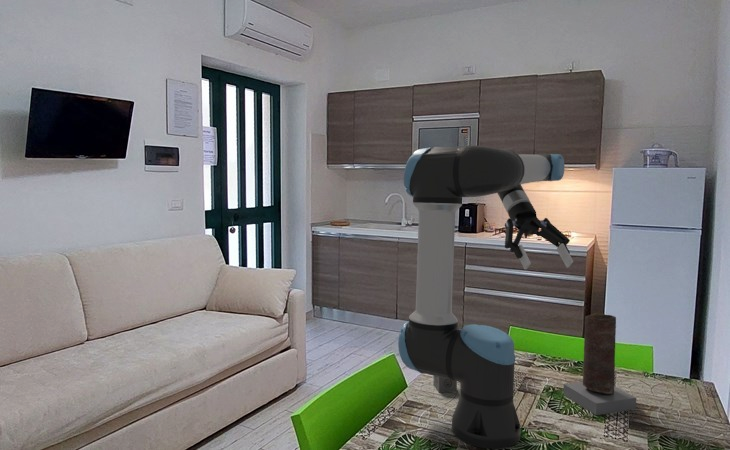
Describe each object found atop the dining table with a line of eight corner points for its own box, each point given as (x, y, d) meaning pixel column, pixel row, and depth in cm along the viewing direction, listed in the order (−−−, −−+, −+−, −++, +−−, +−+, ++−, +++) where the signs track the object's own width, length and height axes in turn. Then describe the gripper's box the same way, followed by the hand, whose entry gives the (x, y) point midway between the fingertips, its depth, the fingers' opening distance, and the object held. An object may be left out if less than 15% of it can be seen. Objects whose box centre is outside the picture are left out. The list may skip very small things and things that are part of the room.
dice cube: (456, 391, 132) (456, 373, 131) (438, 392, 131) (439, 374, 130) (450, 384, 136) (450, 366, 136) (433, 385, 136) (433, 368, 135)
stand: (595, 415, 118) (596, 403, 118) (563, 394, 129) (563, 384, 129) (635, 409, 121) (636, 397, 121) (600, 389, 133) (601, 379, 132)
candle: (595, 398, 120) (599, 319, 119) (575, 386, 127) (578, 312, 126) (620, 394, 122) (624, 317, 121) (599, 383, 130) (602, 310, 128)
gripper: (549, 216, 153) (580, 271, 140) (478, 217, 147) (503, 275, 133) (560, 200, 148) (594, 255, 135) (487, 200, 141) (515, 259, 128)
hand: (549, 265), depth 134 cm, fingers open, 13 cm apart
